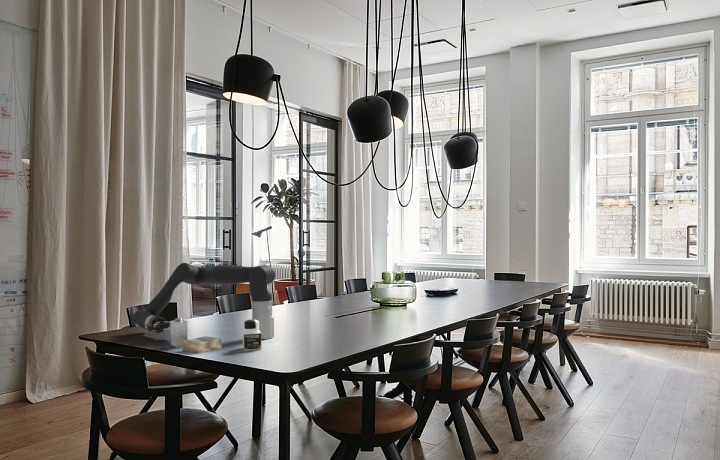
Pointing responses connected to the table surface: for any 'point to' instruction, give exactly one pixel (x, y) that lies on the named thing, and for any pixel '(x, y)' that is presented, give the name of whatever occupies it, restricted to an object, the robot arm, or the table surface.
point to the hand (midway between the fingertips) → (168, 328)
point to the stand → (202, 344)
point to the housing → (178, 332)
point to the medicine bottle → (251, 335)
